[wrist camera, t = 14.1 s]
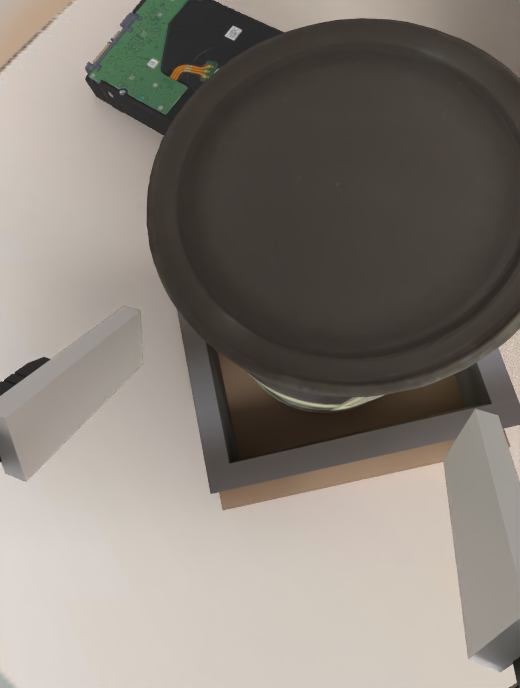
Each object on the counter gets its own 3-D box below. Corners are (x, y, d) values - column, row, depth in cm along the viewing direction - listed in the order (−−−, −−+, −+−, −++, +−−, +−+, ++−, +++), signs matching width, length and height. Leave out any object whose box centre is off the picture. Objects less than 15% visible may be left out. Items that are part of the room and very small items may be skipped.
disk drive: (321, 81, 29) (171, 10, 32) (323, 46, 26) (159, -29, 29) (243, 186, 28) (95, 102, 31) (237, 160, 25) (75, 71, 28)
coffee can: (240, 419, 22) (137, 406, 9) (235, 256, 25) (148, 44, 11) (422, 411, 21) (629, 381, 8) (400, 242, 24) (530, -14, 10)
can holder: (499, 445, 22) (544, 449, 18) (226, 506, 23) (209, 523, 19) (402, 177, 26) (420, 130, 22) (176, 237, 27) (152, 203, 23)
